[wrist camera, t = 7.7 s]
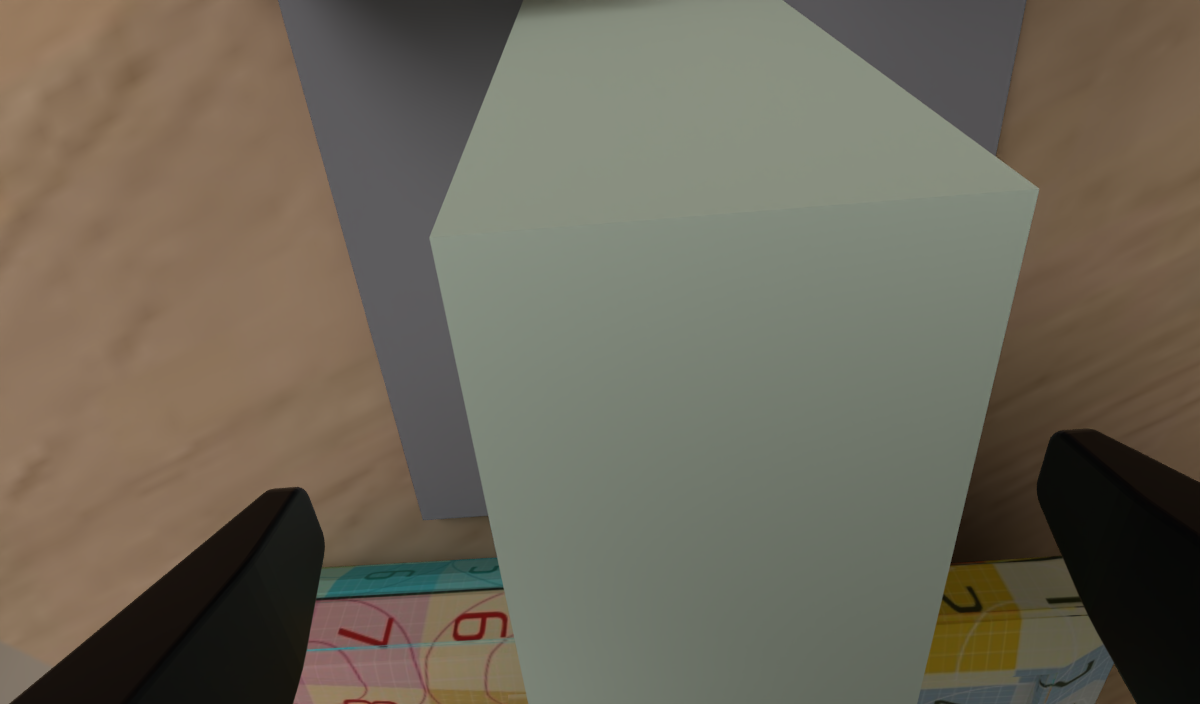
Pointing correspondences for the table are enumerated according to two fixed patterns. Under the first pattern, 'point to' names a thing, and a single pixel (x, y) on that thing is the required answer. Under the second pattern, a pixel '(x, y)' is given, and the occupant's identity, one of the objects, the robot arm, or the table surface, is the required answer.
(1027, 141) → the table surface
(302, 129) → the table surface
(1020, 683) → the puzzle game
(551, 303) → the board
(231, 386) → the table surface
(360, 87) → the mat
